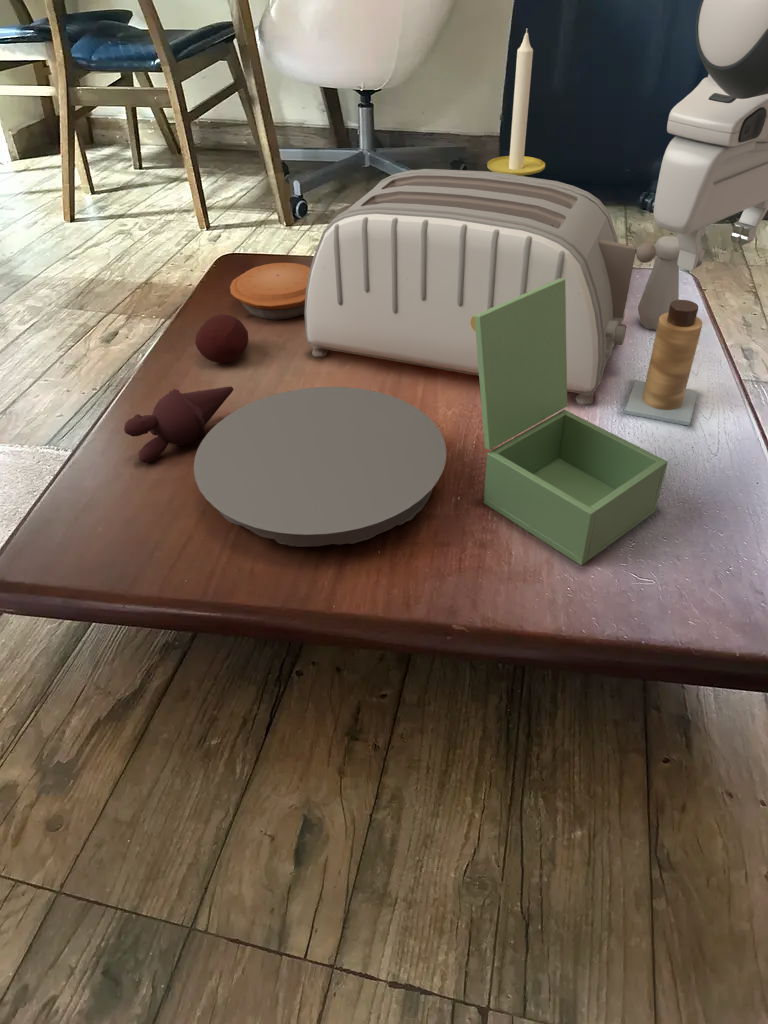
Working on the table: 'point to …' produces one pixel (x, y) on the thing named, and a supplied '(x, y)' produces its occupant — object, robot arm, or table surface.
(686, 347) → the pepper mill
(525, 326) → the box lid
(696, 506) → the table surface
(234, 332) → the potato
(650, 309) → the salt shaker
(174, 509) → the table surface
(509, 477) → the green box
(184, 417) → the gnome figurine
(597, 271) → the toaster
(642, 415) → the tile
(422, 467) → the flat disc
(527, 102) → the candle
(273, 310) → the pie
